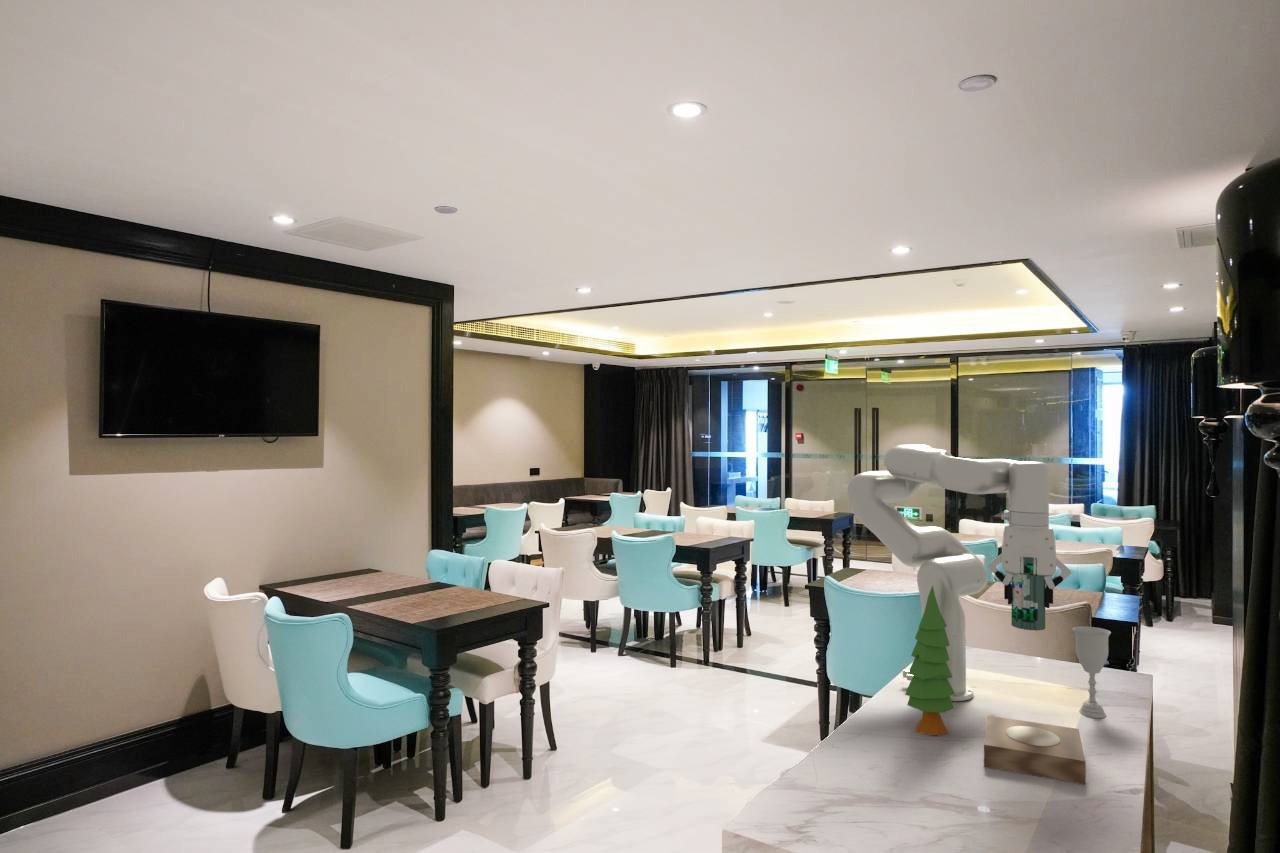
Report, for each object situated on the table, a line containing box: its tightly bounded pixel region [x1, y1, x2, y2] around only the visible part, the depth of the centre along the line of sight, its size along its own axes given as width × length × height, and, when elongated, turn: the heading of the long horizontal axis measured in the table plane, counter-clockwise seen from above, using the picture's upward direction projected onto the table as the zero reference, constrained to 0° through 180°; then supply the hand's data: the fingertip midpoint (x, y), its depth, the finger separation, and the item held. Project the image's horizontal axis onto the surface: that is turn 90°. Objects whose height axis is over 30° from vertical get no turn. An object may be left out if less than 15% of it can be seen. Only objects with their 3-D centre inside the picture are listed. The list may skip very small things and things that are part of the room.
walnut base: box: [983, 714, 1087, 785], centre depth 141 cm, size 16×16×4 cm
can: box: [1011, 557, 1046, 631], centre depth 159 cm, size 6×6×15 cm
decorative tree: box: [904, 585, 955, 737], centre depth 155 cm, size 10×9×30 cm
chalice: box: [1072, 625, 1112, 719], centre depth 164 cm, size 7×7×18 cm
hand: (1028, 604), depth 159 cm, fingers closed on can, 6 cm apart
